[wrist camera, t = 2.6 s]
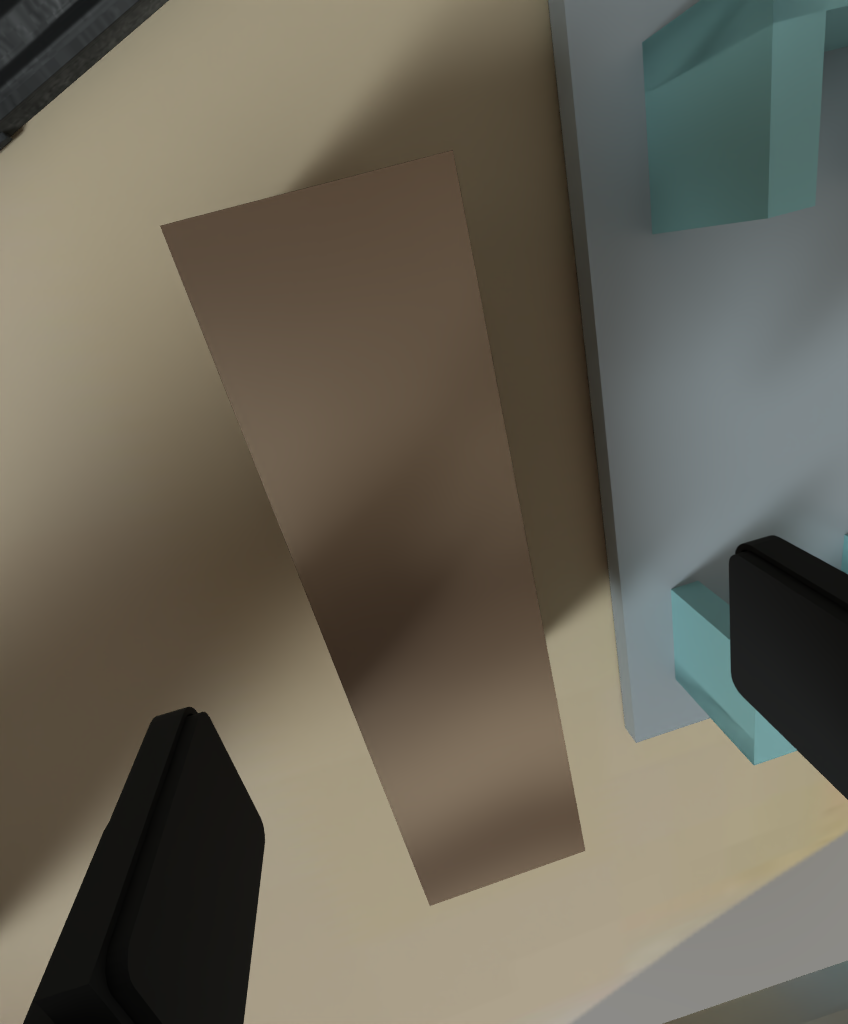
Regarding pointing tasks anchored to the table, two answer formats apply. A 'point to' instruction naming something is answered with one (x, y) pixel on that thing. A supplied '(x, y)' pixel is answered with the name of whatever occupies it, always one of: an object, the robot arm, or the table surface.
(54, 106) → the table surface
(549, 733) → the brown wooden block
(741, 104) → the rail
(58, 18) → the phone
